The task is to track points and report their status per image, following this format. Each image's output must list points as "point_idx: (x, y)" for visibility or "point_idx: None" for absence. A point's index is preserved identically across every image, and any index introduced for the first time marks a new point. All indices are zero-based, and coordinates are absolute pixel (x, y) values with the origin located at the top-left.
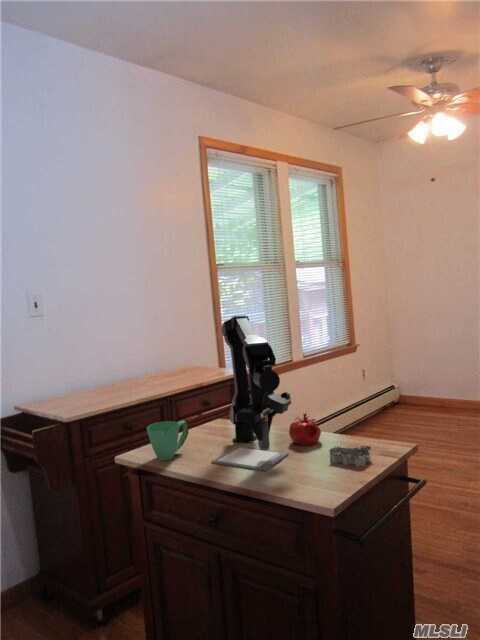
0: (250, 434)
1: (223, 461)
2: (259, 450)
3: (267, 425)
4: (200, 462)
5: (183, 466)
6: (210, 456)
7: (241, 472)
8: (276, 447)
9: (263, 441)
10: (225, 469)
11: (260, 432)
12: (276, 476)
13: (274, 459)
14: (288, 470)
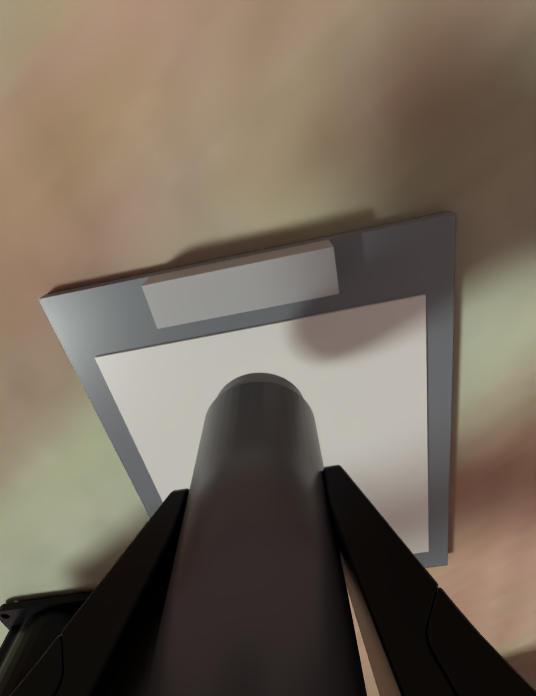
0: (51, 642)
1: (427, 523)
2: (161, 484)
3: (224, 653)
4: (456, 590)
5: (531, 608)
6: None
7: (524, 348)
8: (18, 450)
9: (312, 447)
10: (506, 454)
11: (414, 563)
12: (526, 20)
13: (285, 256)
14: (338, 17)
